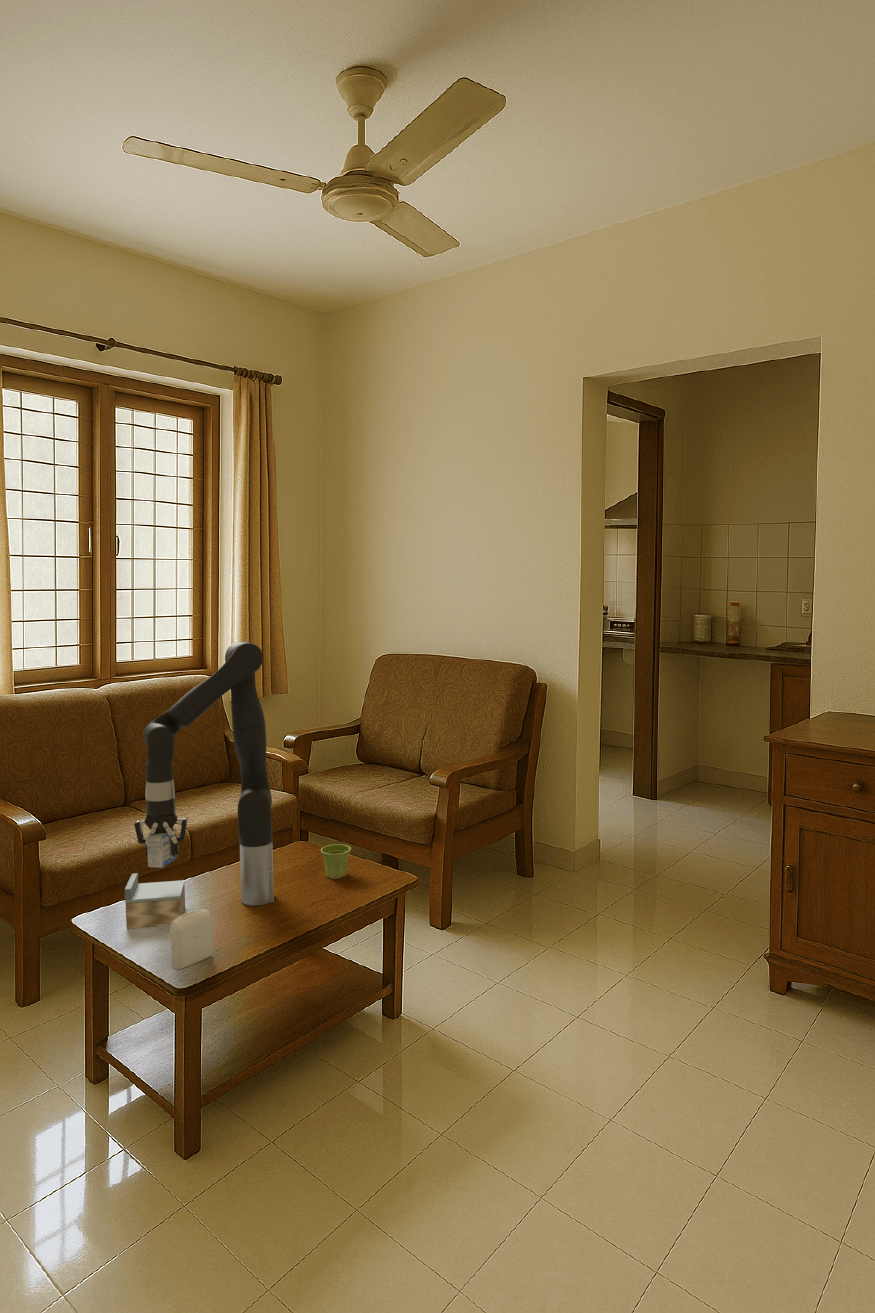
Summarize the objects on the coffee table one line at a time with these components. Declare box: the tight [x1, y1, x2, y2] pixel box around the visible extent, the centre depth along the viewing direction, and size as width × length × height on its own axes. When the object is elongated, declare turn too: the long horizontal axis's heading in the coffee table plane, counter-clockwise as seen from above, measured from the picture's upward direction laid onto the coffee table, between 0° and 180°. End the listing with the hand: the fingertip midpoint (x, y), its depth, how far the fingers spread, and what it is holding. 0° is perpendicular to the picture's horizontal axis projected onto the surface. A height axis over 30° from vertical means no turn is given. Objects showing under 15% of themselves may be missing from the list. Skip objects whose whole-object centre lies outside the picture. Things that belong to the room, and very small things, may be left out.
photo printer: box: [169, 908, 214, 970], centre depth 199 cm, size 10×4×12 cm, turn 140°
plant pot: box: [320, 843, 352, 880], centre depth 256 cm, size 9×9×9 cm
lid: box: [124, 872, 186, 904], centre depth 224 cm, size 14×12×4 cm
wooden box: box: [125, 884, 186, 930], centre depth 224 cm, size 14×11×7 cm
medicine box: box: [146, 828, 178, 869], centre depth 223 cm, size 8×4×9 cm, turn 170°
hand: (162, 856), depth 223 cm, fingers closed on medicine box, 5 cm apart
